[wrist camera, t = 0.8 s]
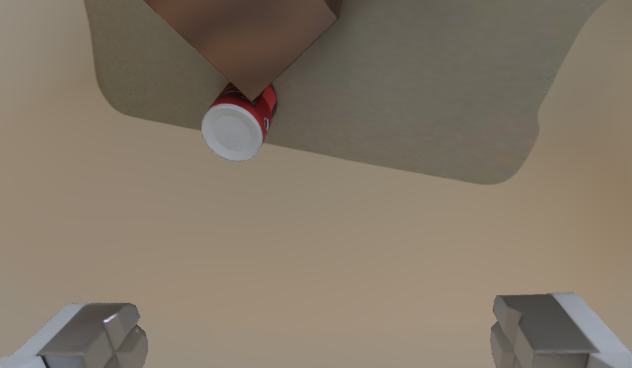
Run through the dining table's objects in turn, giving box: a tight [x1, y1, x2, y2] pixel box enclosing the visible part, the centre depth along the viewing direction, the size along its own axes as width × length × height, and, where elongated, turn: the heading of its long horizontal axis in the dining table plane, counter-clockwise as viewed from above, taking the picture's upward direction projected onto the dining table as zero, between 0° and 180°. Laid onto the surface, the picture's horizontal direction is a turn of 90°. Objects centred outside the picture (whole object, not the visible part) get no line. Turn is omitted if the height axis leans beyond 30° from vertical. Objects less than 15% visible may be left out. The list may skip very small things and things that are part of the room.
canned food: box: [201, 82, 277, 161], centre depth 51 cm, size 8×8×11 cm
